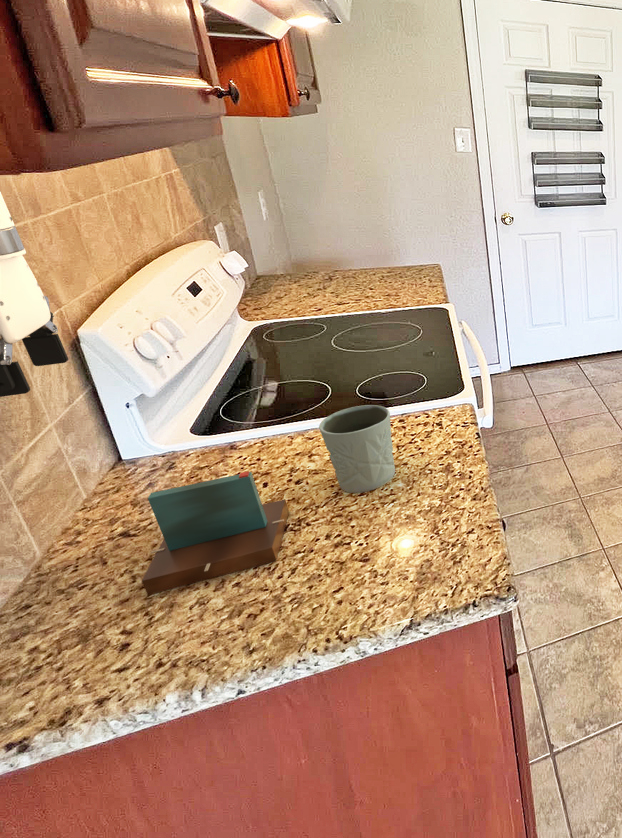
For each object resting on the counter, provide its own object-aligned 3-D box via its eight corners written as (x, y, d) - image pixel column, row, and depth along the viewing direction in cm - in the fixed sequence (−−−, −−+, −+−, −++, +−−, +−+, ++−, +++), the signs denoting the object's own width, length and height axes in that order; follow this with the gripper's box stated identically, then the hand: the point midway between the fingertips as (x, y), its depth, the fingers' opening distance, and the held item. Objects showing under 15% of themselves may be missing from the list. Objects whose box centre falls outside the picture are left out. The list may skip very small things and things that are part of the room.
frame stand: (137, 605, 74) (130, 590, 73) (174, 533, 87) (168, 519, 86) (279, 567, 81) (275, 552, 80) (295, 505, 93) (291, 491, 92)
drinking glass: (321, 494, 96) (304, 433, 92) (357, 460, 105) (343, 403, 101) (382, 495, 96) (368, 434, 92) (412, 461, 106) (400, 404, 101)
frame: (169, 551, 80) (146, 496, 76) (172, 544, 81) (150, 491, 78) (266, 527, 85) (249, 475, 81) (267, 521, 86) (250, 470, 83)
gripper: (-30, 233, 71) (27, 358, 78) (-135, 266, 57) (-56, 415, 64) (54, 229, 75) (102, 349, 81) (-26, 259, 61) (39, 401, 67)
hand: (32, 378), depth 72 cm, fingers open, 9 cm apart
